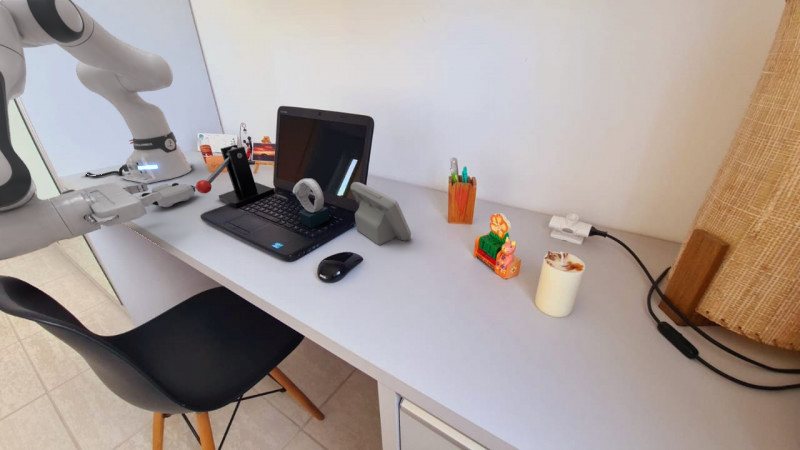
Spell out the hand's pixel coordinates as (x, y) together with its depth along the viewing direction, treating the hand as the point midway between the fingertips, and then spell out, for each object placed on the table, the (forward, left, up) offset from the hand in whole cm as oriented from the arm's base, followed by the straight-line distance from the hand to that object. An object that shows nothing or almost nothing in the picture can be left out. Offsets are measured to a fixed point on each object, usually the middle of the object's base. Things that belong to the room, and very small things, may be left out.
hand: (153, 190), depth 78 cm
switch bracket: (+9, +19, -10) cm, 23 cm away
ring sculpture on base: (+37, +8, -10) cm, 39 cm away
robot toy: (-13, +13, -10) cm, 22 cm away
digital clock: (+55, +6, -10) cm, 56 cm away
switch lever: (+7, +15, -2) cm, 17 cm away
